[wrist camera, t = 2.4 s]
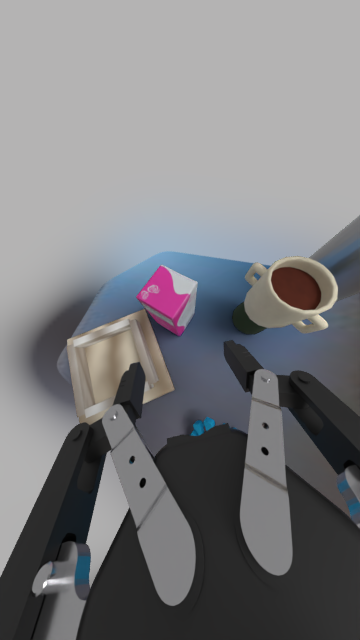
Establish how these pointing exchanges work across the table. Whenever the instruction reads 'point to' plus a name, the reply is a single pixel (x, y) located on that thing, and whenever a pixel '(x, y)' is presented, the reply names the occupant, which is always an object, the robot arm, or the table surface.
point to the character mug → (286, 296)
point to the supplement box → (169, 299)
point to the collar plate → (114, 364)
